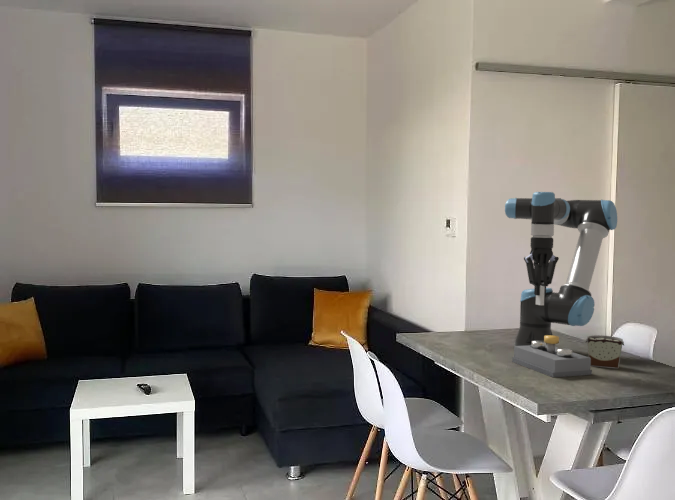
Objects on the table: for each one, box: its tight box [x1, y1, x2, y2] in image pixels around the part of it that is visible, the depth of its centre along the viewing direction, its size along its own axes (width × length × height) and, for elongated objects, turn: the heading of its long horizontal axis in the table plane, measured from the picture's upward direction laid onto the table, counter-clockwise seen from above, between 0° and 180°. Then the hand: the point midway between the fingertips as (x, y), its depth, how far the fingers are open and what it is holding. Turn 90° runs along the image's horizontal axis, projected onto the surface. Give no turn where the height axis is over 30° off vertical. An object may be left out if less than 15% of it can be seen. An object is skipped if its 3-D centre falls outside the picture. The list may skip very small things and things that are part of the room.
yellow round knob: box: [544, 334, 560, 355], centre depth 231 cm, size 5×5×6 cm
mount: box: [511, 345, 593, 378], centre depth 231 cm, size 15×23×6 cm, turn 19°
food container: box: [585, 334, 625, 369], centre depth 237 cm, size 12×6×10 cm, turn 71°
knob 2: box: [557, 347, 573, 358], centre depth 224 cm, size 5×5×6 cm
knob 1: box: [531, 340, 546, 350], centre depth 238 cm, size 5×5×6 cm
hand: (539, 304), depth 237 cm, fingers closed
